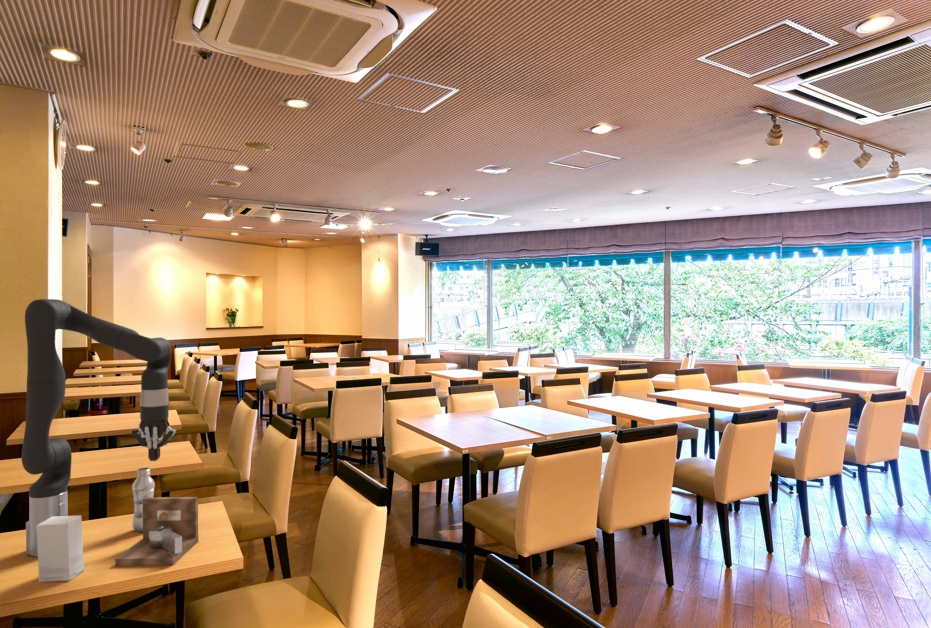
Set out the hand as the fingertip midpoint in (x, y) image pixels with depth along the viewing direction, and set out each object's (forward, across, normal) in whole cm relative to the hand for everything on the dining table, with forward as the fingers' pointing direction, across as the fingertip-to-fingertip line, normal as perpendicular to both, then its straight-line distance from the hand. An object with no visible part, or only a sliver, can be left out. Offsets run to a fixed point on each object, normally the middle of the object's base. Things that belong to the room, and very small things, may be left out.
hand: (154, 460), depth 170 cm
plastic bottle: (+27, -10, +13) cm, 31 cm away
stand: (+26, +4, -5) cm, 27 cm away
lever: (+24, +7, -6) cm, 26 cm away
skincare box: (+27, -15, -19) cm, 36 cm away
